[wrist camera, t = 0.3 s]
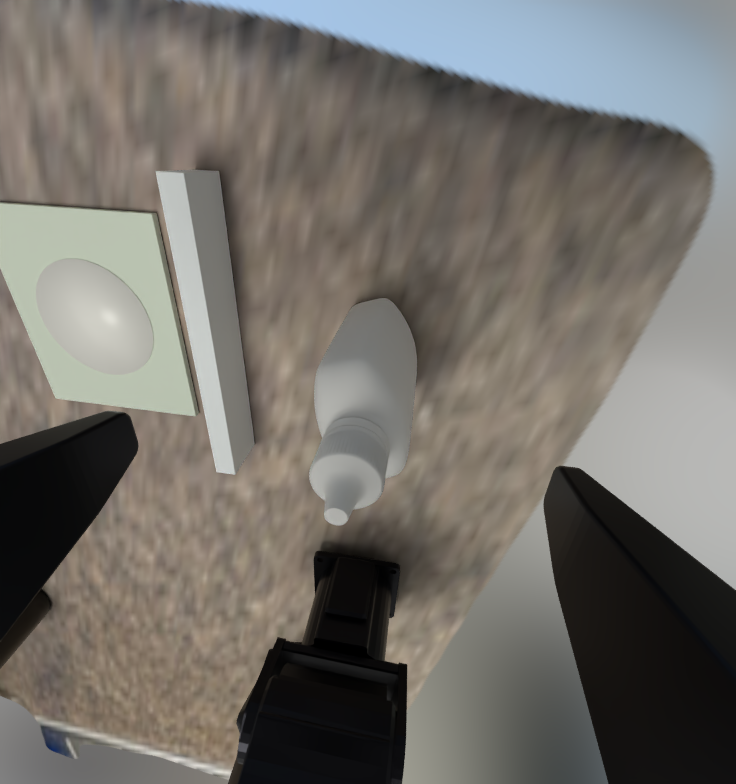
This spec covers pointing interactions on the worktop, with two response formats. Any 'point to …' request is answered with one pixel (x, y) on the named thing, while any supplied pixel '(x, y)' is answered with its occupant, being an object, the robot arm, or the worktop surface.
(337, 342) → the eye dropper bottle
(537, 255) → the worktop surface
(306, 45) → the worktop surface
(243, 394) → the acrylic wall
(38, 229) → the pad
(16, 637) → the supplement bottle
